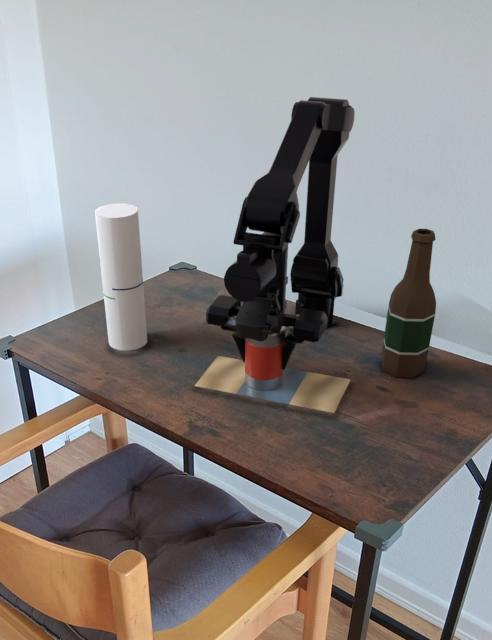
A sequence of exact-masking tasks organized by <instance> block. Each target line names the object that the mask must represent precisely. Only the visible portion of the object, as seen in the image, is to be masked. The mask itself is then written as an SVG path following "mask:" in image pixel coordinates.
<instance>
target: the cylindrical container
mask: <svg viewBox="0 0 492 640" xmlns="http://www.w3.org/2000/svg"><path fill="white" fill-rule="evenodd" d="M94 218H95V228H96V237H97V238H96V239H97V247H98V255H99V256H98V257H99V264H100V274H101V275H100V276H101V282H102V292H103V302H104V303H103V304H104V310H105V311H104V312H105V321H106V329H107V331H106V332H107V339H108V345H109V346H110V347H111V349H114V350H116V351H117V350H118V351H122V352H123V351H125V352H127V351H135V350H138V349H141V348H143V347H145V346H146V345H147V344H148V332H147V331H148V330H147V316H146V304H145V289H144V276H143V275H144V274H143V261H142V260H143V259H142V247H141V237H140V235H141V233H140V220H139V219H140V218H139V208H138V207H137V206H136V205H134V204H130V203H123V202H122V203H119V202H118V203H108V204H103V205H101V206H98V207H96V209H94Z"/></svg>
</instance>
